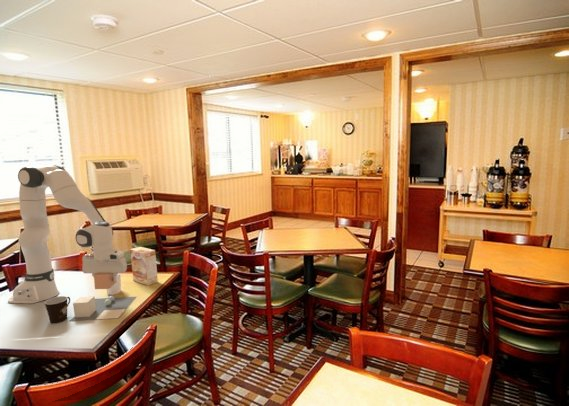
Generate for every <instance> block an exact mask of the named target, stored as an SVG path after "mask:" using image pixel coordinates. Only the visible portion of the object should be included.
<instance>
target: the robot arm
mask: <svg viewBox="0 0 569 406" xmlns="http://www.w3.org/2000/svg"><path fill="white" fill-rule="evenodd" d="M17 178H18V182H19V183H20V184H19V192H18V195H19V197H18V198H19V213H20V214H19V215H20V217H21V220H22V223H23V227H24V228H23V230H22V231H21V232H20V233H19V236H18V244H19V246H20V248H21V252H22V254H23V257H24V261H25V267H26V268H25V269H26V273H24V274H23V275H22V276H21V278H22V279H23V281H22V282H20V283H19V284H18V285H16V286H15V288H14V289H13V291H12V296H11V297H9V298H8V299H7V303H8V304H36V303H38V302H41V301H47V300H49V299H51V298H54V297H57V296H58V295H59V294H60V292H59V291H60V290H59V289H58V287H57V284H56V280H55V270H54V268H53V265H52V264H53V262H52V258H51V257H52V256H51V255H52V254H51V253H50V250H49V248H48V244H47V241H48V239H49V237H50V236H51V235H50V234H51V230H50V224H49V223H50V222H49V219H48V214H47V198H46V190H47V189H48V188H49V189H50V191H51V193H52V195H53V197H54V199H55V201H56V203H58V205H60V206H61V207H63V208H66V209H71V210H76V211H79V212H82V213H84V214H85V215H86V217H87V218H88V219H89V221H90V223H91V224H90V225H88V226H86V227H83V228H81V229H78V230H77V232H76V233H75V242H76V244H77V245H78V246H79V247H81V248H90V247H91V248H92V249H93V250H92V252H93V253H92V254H88V253H87V254H85V255H83V256H82V258H81V259H82V268H81V269H82V273H83V274H91V275H92V277H93V278H94V275H95V274H96V273H113V274H114V275H115V276H114V277H113V278H112V281H116V277H117V275H118V273H120V274H123V273H125V272H126V271H127V270H128V265H127V259H126V257H124V256H125V252H124V251H123V250H119V249H118V250H117V249H115V248H114V245H113V240H114V230H113V227H112V225H111V223H109V222H108V221H106V220H105V219H104V217H103V215H102V214H101V213H100V211H99V209H98V208H97V207H96V206H95V205H94V203H93V202H92V200H91V199H90V198H88V197H86V195H84V194H83V192H81V190H80V189H79V187H78V185H77V183H76V182H75V181H74V179H73V177H72V176H71V175H70V174H69V172H68V171H67V170H66V169H65V168H64V167H62V166H60V165H56V164H55V165H50V164H48V165H47V164H41V165H33V166H32V165H28V166H24V167H21V168H20V170H19V171H18V175H17Z"/></svg>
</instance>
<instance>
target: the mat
mask: <svg viewBox="0 0 569 406" xmlns="http://www.w3.org/2000/svg"><path fill="white" fill-rule="evenodd" d="M108 298H109V297H104V298H95V305H96V311H95V312H94V313H93V314H92V315H91V316H90V317H75V315H74V316H73V317H72V318H71V319H70V320H69V322H81V321H82V322H83V321H84V322H85V321H95V320H96V321H101V320H118V319H120V318H121V317H122V316H123V314H124V313H125V312H126V311H127V309H128V308H129V307H130V305H131V304H132V303H133V302H134V301H135V300H136V299H137V296H123V297H114V298H115V299H114V301H113V302H111V304H110V305H108V306H107V305H105V303H104V302H105V301H106V300H107V299H108Z"/></svg>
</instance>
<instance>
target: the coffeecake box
mask: <svg viewBox="0 0 569 406" xmlns="http://www.w3.org/2000/svg"><path fill="white" fill-rule="evenodd" d="M129 252H130V259H131V261H130V263H131V271H132V273H131V274H132V281H133V282H137V283H140V284H142V285H145V286H150V285H153V284H155V283H158V281H159V279H158V268H157V256H156V249H151V248H147V247H143V246H138V247H134V248H130V251H129Z"/></svg>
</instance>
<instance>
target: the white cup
mask: <svg viewBox="0 0 569 406" xmlns="http://www.w3.org/2000/svg"><path fill="white" fill-rule="evenodd" d="M116 280H117V282H116V283H115V284H114V285H113V286H112V287H111V288H109V289H105V290H106V293H107V295H110V296H113V295H116V294H119V293H121V291H122V286H121V285H122V284H121V282H122V281H121V273H118V275H117V277H116Z"/></svg>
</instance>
